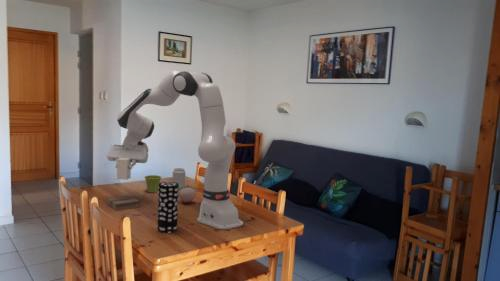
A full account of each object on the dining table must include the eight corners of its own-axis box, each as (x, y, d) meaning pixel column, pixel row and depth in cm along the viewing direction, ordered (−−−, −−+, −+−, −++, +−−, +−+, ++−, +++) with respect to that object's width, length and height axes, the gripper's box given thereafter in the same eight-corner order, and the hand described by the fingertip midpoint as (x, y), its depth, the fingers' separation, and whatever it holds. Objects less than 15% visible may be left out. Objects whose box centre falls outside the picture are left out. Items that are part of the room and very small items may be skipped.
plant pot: (140, 191, 232) (141, 176, 231) (153, 188, 240) (153, 174, 239) (151, 194, 227) (152, 179, 226) (164, 191, 234) (164, 177, 233)
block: (130, 177, 204) (130, 158, 203) (126, 179, 199) (127, 159, 198) (121, 176, 205) (121, 157, 203) (116, 179, 200) (117, 159, 198)
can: (182, 190, 240) (182, 170, 238) (170, 189, 241) (170, 169, 240) (186, 187, 247) (187, 168, 246) (175, 186, 249) (175, 167, 247)
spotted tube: (159, 233, 168) (160, 186, 165) (155, 227, 175) (156, 182, 173) (179, 232, 171) (180, 186, 168) (174, 225, 178) (176, 181, 176)
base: (139, 206, 203) (139, 201, 203) (116, 210, 195) (116, 204, 195) (129, 201, 212) (129, 195, 212) (107, 204, 204) (107, 198, 204)
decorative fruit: (180, 206, 208) (181, 187, 207) (176, 201, 215) (177, 183, 214) (198, 204, 212) (198, 186, 211) (193, 200, 219) (194, 182, 218)
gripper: (110, 140, 207) (101, 162, 199) (148, 143, 206) (141, 165, 197) (113, 148, 212) (105, 170, 204) (151, 150, 211) (144, 173, 202)
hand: (123, 168), depth 201 cm, fingers closed on block, 5 cm apart
